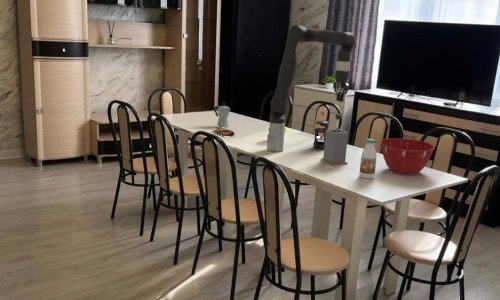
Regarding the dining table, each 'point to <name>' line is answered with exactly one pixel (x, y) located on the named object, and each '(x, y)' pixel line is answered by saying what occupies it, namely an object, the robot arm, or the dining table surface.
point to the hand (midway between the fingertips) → (339, 101)
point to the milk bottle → (368, 160)
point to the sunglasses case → (224, 132)
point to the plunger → (337, 121)
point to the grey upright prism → (335, 147)
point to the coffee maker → (222, 115)
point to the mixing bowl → (406, 154)
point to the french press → (317, 143)
